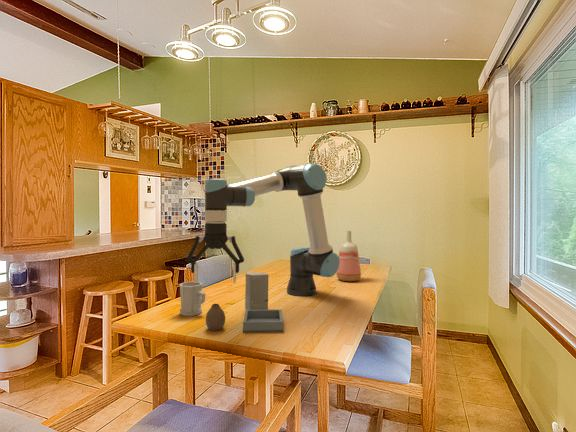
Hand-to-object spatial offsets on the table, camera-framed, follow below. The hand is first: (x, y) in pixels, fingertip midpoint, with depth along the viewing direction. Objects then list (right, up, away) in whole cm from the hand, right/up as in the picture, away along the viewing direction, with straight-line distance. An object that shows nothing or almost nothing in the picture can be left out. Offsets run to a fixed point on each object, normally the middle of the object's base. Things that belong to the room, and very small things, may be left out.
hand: (215, 282), depth 118 cm
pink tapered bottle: (+62, -15, +81) cm, 103 cm away
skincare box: (+13, -17, +21) cm, 30 cm away
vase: (0, -17, 0) cm, 17 cm away
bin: (+17, -17, +5) cm, 24 cm away
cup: (-13, -16, +18) cm, 28 cm away
